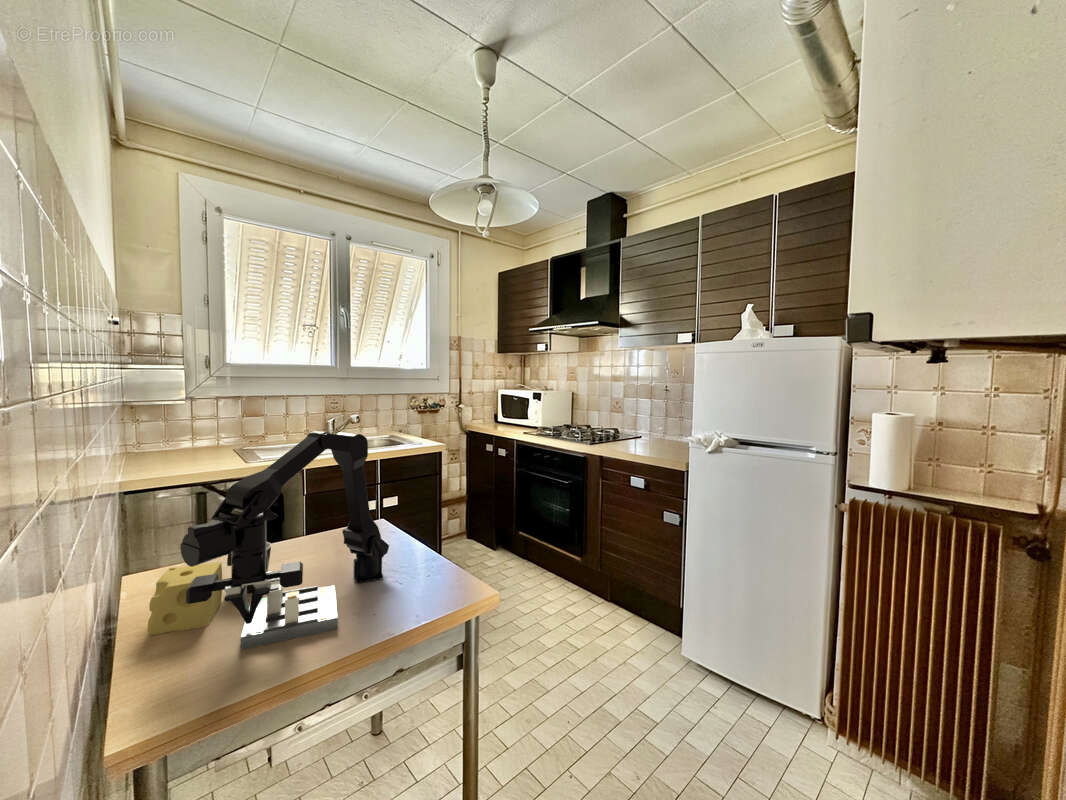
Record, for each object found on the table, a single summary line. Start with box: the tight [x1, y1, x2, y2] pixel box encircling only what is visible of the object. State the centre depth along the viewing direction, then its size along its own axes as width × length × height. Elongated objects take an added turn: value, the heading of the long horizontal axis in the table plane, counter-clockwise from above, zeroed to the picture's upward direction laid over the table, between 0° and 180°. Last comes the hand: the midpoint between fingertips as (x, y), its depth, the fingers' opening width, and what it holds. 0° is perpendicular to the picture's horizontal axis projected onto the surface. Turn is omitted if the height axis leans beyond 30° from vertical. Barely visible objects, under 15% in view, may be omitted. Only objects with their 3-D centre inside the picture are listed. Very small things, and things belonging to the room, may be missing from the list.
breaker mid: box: [266, 584, 281, 615], centre depth 90 cm, size 2×3×5 cm
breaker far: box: [271, 581, 284, 601], centre depth 94 cm, size 2×3×5 cm
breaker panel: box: [240, 584, 339, 651], centre depth 92 cm, size 17×15×3 cm
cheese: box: [147, 561, 223, 636], centre depth 91 cm, size 10×11×10 cm
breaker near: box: [285, 591, 299, 624], centre depth 87 cm, size 2×3×5 cm
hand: (249, 622), depth 84 cm, fingers closed
